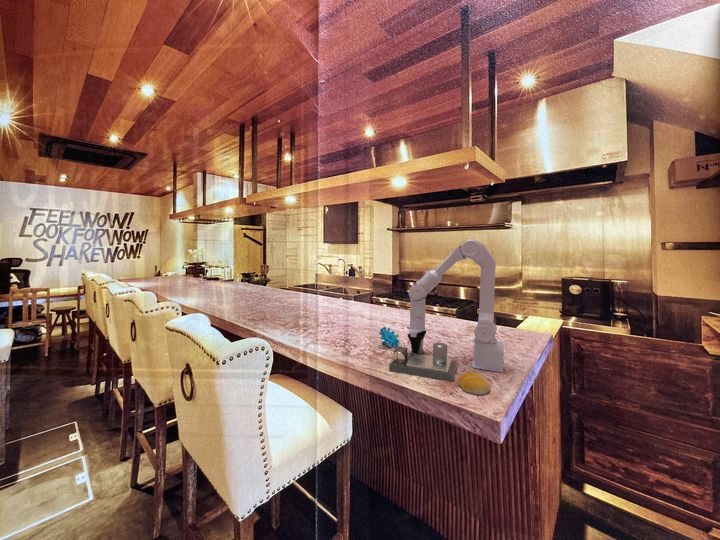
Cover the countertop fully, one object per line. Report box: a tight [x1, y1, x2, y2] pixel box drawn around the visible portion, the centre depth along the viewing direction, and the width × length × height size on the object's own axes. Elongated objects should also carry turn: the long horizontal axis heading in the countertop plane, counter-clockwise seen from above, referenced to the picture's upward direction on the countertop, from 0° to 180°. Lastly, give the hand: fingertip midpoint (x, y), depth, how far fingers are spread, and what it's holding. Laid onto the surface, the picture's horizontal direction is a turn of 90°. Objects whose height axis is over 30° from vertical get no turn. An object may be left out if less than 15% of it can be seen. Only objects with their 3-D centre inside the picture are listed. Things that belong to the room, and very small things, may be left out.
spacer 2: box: [432, 342, 448, 365], centre depth 95 cm, size 4×4×6 cm
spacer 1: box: [410, 339, 424, 355], centre depth 111 cm, size 4×4×6 cm
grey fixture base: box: [388, 345, 458, 382], centre depth 97 cm, size 20×13×6 cm, turn 67°
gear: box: [378, 326, 400, 349], centre depth 123 cm, size 11×6×10 cm
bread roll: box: [457, 371, 491, 395], centre depth 83 cm, size 8×9×4 cm
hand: (417, 350), depth 111 cm, fingers closed on spacer 1, 4 cm apart
